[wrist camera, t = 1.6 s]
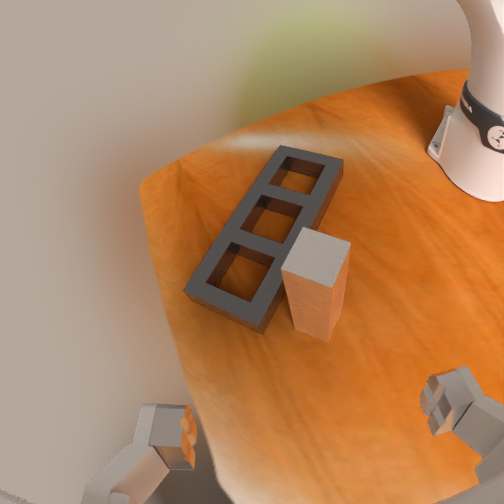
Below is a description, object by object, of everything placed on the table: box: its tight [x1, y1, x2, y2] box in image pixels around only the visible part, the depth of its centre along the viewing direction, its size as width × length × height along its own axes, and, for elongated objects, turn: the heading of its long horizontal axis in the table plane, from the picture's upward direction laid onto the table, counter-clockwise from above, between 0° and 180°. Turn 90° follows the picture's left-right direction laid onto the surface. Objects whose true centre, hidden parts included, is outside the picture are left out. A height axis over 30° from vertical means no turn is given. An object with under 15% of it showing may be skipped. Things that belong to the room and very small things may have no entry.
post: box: [281, 227, 351, 343], centre depth 29 cm, size 4×4×14 cm
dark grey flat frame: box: [183, 145, 343, 334], centre depth 41 cm, size 26×10×3 cm, turn 151°
